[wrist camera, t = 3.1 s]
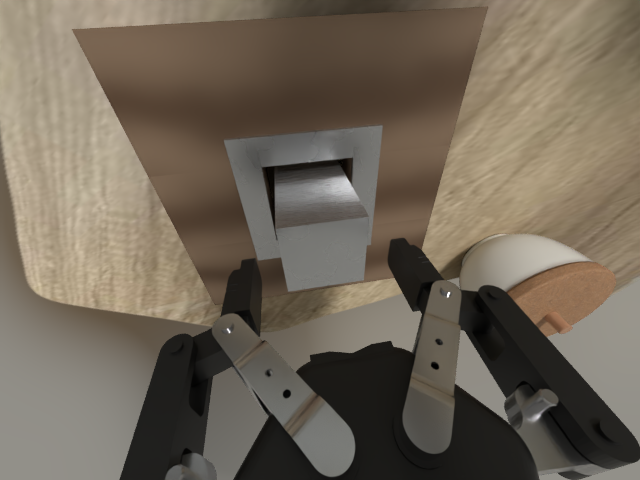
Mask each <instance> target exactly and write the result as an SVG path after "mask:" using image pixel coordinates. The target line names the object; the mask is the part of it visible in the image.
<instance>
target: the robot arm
mask: <svg viewBox="0 0 640 480" xmlns="http://www.w3.org/2000/svg"><path fill="white" fill-rule="evenodd" d="M387 260H388V266H389V268H390V270H391V272H392V274H393V276H394V278H395V280H396V281H397V283H398V285H399V287H400V289H401V291H402V293H403V294H404V296H405V298H406V300H407V301H408V304H409V305H410V307H411V309H412V311H413V312H414V311H421V313H422V317H421V320H420V324H419V328H418V332H417V336H416V340H415V344H414V347H413V350H412V352H409V351H407V350H405V349H402V348H397V347H393V345H392V342H391V341H387V342H382V343H376V344H371V345H369V346H367V347H365V348H363V349H361V350H359V351H356V352H354V353H342V352H326V353H320V354H314V355H310V360H311V361H310V362H308V363H306V364H305V365H303V366H302V367H300V368H299V369H298V370H297V371H296V372H295V371H294V370H293V369H292V368H291V367H290V366H289V365H288V363H287V362H286V361H285V360H284V359H283V358H282V357H281V356H280V355H279V354H278V353H277V352H276V351H275V350H274V349H273V347H272V346H271V345H270V344H269V343H268V342H267V341H262V340H261V339H260V338H259V337H260V325H261V303H262V279H261V275H260V271H259V268H258V264H257V261H256V258H251V259H244V260H242V261H241V267H240V269H238V270H233V272H232V273H231V274H230V276H229V277H228V282H227V287H226V293H225V297H224V302H223V307H222V312H221V317H220V318H219V319H218V320H217V321H216V322H215V323H214V325H213V327H212V328H211V329H209V330H208V331H205V332H203V333H201V334H199V335H197V336H194V337H191V336H190V335H188V334H179V335H176V336H174V337H172V338H171V339H169V340H168V341H167V342H166V343H165V344H164V345H163V347H162V348H161V350H160V353H159V356H158V359H157V363H156V366H155V369H154V372H153V375H152V379H151V382H150V385H149V388H148V391H147V394H146V398H145V401H144V404H143V407H142V410H141V413H140V416H139V420H138V423H137V427H136V429H135V432H134V436H133V439H132V442H131V445H130V449H129V451H128V455H127V458H126V461H125V464H124V468H123V471H122V474H121V477H120V480H217V474H216V470H215V467H214V465H213V464H212V463H211V462H209V461H208V460H207V459H205V458H204V457H203V450H204V443H205V435H206V427H207V419H208V411H209V403H210V395H211V387H212V379H213V376H214V375H216V374H218V373H220V372H222V371H224V370H226V369H228V368H230V367H232V368H233V369H234V371H235V372H236V373H237V375H238V376H239V377H240V379H241V380H242V381H243V383H244V384H245V386H246V387H247V388H248V389H249V391H250V392H251V394H252V395H253V397H254V398H255V400H256V401H257V403H258V404H259V406H260V407H261V408H262V410H263V411H264V412H265V414H266V415H267V416H268V419H267V421H266V422H265V424H264V426H263V428H262V430H261V431H260V433H259V435H258V437H257V438H256V440H255V442H254V444H253V445H252V447H251V449H250V451H249V452H248V454H247V456H246V458H245V460H244V461H243V463H242V465H241V467H240V469H239V470H238V472H237V474H236V476H235V478H234V479H233V480H539V475H544V474H552V473H558V474H559V475H561V476H563V477H565V478H568V479H571V480H579V479H582V478H585V477H589V476H592V475H595V474H598V473H602V472H605V471H608V470H611V469H615V468H618V467H621V466H624V465H628V464H630V463H634V462H637V461H638V460H639V459H640V446H639V444H638V442H637V440H636V438H635V437H634V436H633V434H632V433H631V432H630V431H629V429H628V428H627V427H626V426H625V425H624V424H623V423H622V422H621V420H620V419H619V418H618V417H617V416H616V415H615V414H614V413H613V412H612V410H611V409H610V408H609V407H608V406H607V405H606V404H605V402H604V401H603V400H602V399H601V398H600V397H599V396H598V395H597V393H596V392H595V391H594V390H593V389H592V388H591V387H590V386H589V384H588V383H587V382H586V381H585V380H584V379H583V378H582V377H581V375H580V374H579V373H578V372H577V371H576V370H575V369H574V368H573V367H572V365H571V364H570V363H569V362H568V361H567V360H566V359H565V358H564V357H563V355H562V354H561V353H560V352H559V351H558V350H557V349H556V347H555V346H554V345H553V344H552V343H551V342H550V341H549V340H548V338H547V337H546V336H545V335H544V334H543V333H542V332H541V331H540V329H539V328H538V327H537V326H536V325H535V324H534V323H533V322H532V320H531V319H530V318H529V317H528V316H527V315H526V314H525V313H524V311H523V310H522V309H521V308H520V307H519V306H518V305H517V304H516V302H515V301H514V300H513V299H512V298H511V297H510V296H509V295H508V294H507V293H506V292H505V291H504V290H502V289H501V288H499V287H496V286H493V285H483V286H481V287H480V288H479V290H478V292H477V291H468V290H460V289H459V288H458V287H457V286H456V285H455V284H453V283H451V282H449V281H445V280H444V279H443V278H442V277H441V275H440V274H439V273H438V271H437V270H436V269H435V267H434V266H433V265H432V263H431V262H430V261H429V259H428V258H427V257H426V255H425V254H424V253H423V251H422V250H421V249H420V248H418V247H417V246H415V245H410V244H409V243H408V242H407V240H406V239H405V238H397V239H391V241H390V246H389V252H388V259H387ZM460 330H464V331H465V332H466V334H467V335H468V337H469V339H470V340H471V342H472V344H473V345H474V347H475V348H476V350H477V352H478V353H479V355H480V357H481V358H482V360H483V361H484V363H485V365H486V366H487V368H488V369H489V371H490V373H491V374H492V376H493V377H494V379H495V381H496V382H497V384H498V386H499V387H500V389H501V391H502V392H503V394H504V395H505V397H506V400H505V403H504V408H505V412H506V414H507V416H508V421H509V423H510V424H508V423H507V422H506V421H505V420H503V418H501V417H500V416H499V415H497V414H496V413H494V412H493V411H492V410H490V409H489V408H488V407H486V406H485V405H484V404H482V403H481V402H479V401H478V400H477V399H475V398H474V397H473V396H471V395H470V394H469V393H467V392H466V391H464V390H463V389H462V388H460V387H459V386H458V385H456V384H455V376H456V368H457V358H458V349H459V340H460Z"/></svg>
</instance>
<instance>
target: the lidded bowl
mask: <svg viewBox="0 0 640 480" xmlns="http://www.w3.org/2000/svg"><path fill="white" fill-rule="evenodd" d="M461 266H462V269H461V272H460V281H459V282H460V290H468V291H477V292H478V290H479V288H480V287H481V286H483V285H493V286H496V287H499V288H501V289H502V290H504V291H505V292H506V293H507V294H508V295H509V296H510V297H511V298H512V299H513V300H514V301H515V302H516V304H517V305H518V306H519V307H520V308H521V309H522V310H523V311H524V313H525V314H526V315H527V316H528V317H529V318H530V319H531V320H532V322H533V323H534V324H535V325H536V326H537V327H538V328H539V329H540V331H541V332H542V333H543V334H544V335H545V336H546V337H548V336H550V335H553V334H555V333H557V332H558V333H560V334H564V333H566V332H568V331H570V330H572V326H571V325H573V324H575V323H577V322H578V321H580V320H581V319H583V318H585V317H586V316H587V315H589V314H590V313H592V312H593V311H594V310H595V309H597V308H598V307H599V306H600V305H601V304H603V302H604V301H605V300H606V299H607V298H608V297H609V296H610V294H611V293H612V292H613V290H614V288H615V285H616V278H615V275H614V274H613V273H612V272H611V271H610V270H608V269H607V268H605V267H604V266H602V265H600V264H598V263H596V262H593V261H592V260H590V259H589V258H587V257H586V256H584V255H582V254H581V253H579V252H578V251H576V250H574V249H572V248H570V247H568V246H566V245H564V244H562V243H560V242H558V241H555V240H553V239H550V238H547V237H543V236H539V235H534V234H522V233H520V234H497V235H493V236H490V237H487V238H485V239H483V240H482V241H480V242H478V243H477V244H476V245H474V246H473V247H472V248H471V249H470V250H469V251H468V252H467V253H466V255H465V256H464V258H463V260H462V265H461Z"/></svg>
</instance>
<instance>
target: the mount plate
mask: <svg viewBox="0 0 640 480" xmlns="http://www.w3.org/2000/svg"><path fill="white" fill-rule="evenodd" d="M487 9H488V7H471V8H453V9H435V10H417V11H399V12H380V13H362V14H344V15H326V16H308V17H290V18H271V19H253V20H235V21H217V22H199V23H181V24H162V25H144V26H126V27H108V28H90V29H72V30H73V32H74V34H75V36H76V38H77V40H78V42H79V44H80V46H81V48H82V50H83V52H84V54H85V56H86V57H87V59H88V61H89V63H90V65H91V67H92V69H93V71H94V73H95V75H96V77H97V79H98V81H99V82H100V84H101V86H102V88H103V90H104V92H105V94H106V96H107V98H108V100H109V102H110V104H111V106H112V108H113V109H114V111H115V113H116V115H117V117H118V119H119V121H120V123H121V125H122V127H123V129H124V131H125V133H126V135H127V136H128V138H129V140H130V142H131V144H132V146H133V148H134V150H135V152H136V154H137V156H138V158H139V160H140V162H141V163H142V165H143V167H144V169H145V171H146V173H147V175H148V177H149V179H150V181H151V183H152V185H153V187H154V188H155V190H156V192H157V194H158V196H159V198H160V200H161V202H162V204H163V206H164V208H165V210H166V212H167V214H168V215H169V217H170V219H171V221H172V223H173V225H174V227H175V229H176V231H177V233H178V235H179V237H180V239H181V241H182V242H183V244H184V246H185V248H186V250H187V252H188V254H189V256H190V258H191V260H192V262H193V264H194V266H195V267H196V269H197V271H198V273H199V275H200V277H201V279H202V281H203V283H204V285H205V287H206V289H207V291H208V293H209V294H210V296H211V298H212V300H213V302H214V304H215V305H218V304H223V302H224V297H225V293H226V287H227V282H228V277H229V276H230V274H231V273H232V272H233V270H238V269H240V267H241V261H242V260H244V259H251V258H256V261H257V264H258V268H259V271H260V275H261V279H262V298H265V297H271V296H278V295H284V294H291V293H297V292H304V291H311V290H317V289H324V288H330V287H337V286H344V285H350V284H357V283H363V282H370V281H376V280H383V279H390V278H394V276H393V274H392V272H391V270H390V268H389V266H388V260H387V259H388V252H389V246H390V241H391V239H397V238H405V239H406V240H407V242H408V243H409V244H410V245H415V246H417V247H418V248H420V249H422V246H423V242H424V238H425V235H426V231H427V228H428V224H429V220H430V217H431V213H432V209H433V206H434V202H435V198H436V195H437V191H438V187H439V184H440V180H441V177H442V173H443V169H444V166H445V162H446V158H447V155H448V151H449V147H450V144H451V140H452V137H453V133H454V129H455V126H456V122H457V118H458V115H459V111H460V107H461V104H462V100H463V96H464V93H465V89H466V86H467V82H468V78H469V75H470V71H471V67H472V64H473V60H474V56H475V53H476V49H477V45H478V42H479V38H480V35H481V31H482V27H483V24H484V20H485V16H486V13H487ZM334 159H343V172H344V173H345V175H346V177H347V179H348V180H349V182H350V184H351V186H352V187H353V189H354V191H355V193H356V194H357V196H358V198H359V200H360V201H361V203H362V205H363V207H364V208H365V210H366V212H367V214H368V215H369V226H368V237H367V249H366V260H365V271H364V280H362V281H356V282H349V283H342V284H336V285H329V286H323V287H316V288H309V289H303V290H296V291H290V292H288V289H287V284H286V279H285V274H284V269H283V264H282V259H281V254H280V249H279V244H278V240H277V235H276V230H275V211H274V206H273V201H272V195H271V190H270V185H269V180H268V175H267V170H266V167H269V166H278V165H287V164H297V163H306V162H316V161H325V160H334Z"/></svg>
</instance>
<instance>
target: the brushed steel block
mask: <svg viewBox="0 0 640 480" xmlns="http://www.w3.org/2000/svg"><path fill="white" fill-rule="evenodd" d="M368 226H369V215H368V214H367V212H366V210H365V208H364V207H363V205H362V203H361V201H360V200H359V198H358V196H357V194H356V193H355V191H354V189H353V187H352V186H351V184H350V182H349V180H348V179H347V177H346V175H345V173H344V172H343V170H342V168H341V166H340V165H339V163H338V161H337V159H334V160H325V161H316V162H306V163H297V164H287V165H278V166H275V230H276V235H277V240H278V244H279V249H280V254H281V259H282V264H283V269H284V274H285V279H286V284H287V289H288V292H290V291H296V290H303V289H309V288H316V287H323V286H329V285H336V284H342V283H349V282H356V281H362V280H364V271H365V260H366V249H367V237H368Z"/></svg>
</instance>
